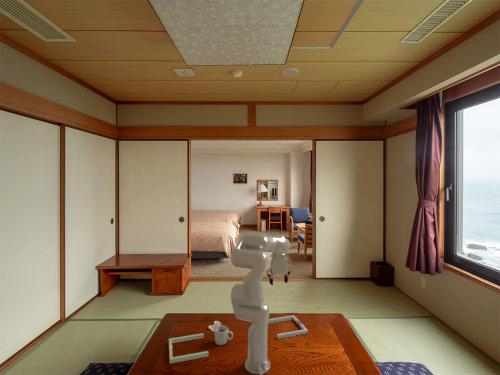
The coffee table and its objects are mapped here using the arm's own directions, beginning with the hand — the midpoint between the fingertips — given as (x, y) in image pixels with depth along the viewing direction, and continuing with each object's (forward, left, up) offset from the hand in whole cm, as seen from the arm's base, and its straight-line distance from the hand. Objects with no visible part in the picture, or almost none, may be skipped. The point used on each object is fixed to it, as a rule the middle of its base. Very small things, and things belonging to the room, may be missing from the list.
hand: (278, 283), depth 171 cm
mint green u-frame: (-4, +54, -29) cm, 61 cm away
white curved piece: (+15, +37, -29) cm, 50 cm away
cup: (-4, +35, -29) cm, 46 cm away
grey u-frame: (0, -5, -29) cm, 29 cm away
